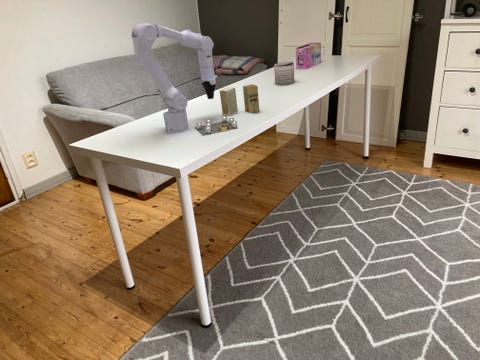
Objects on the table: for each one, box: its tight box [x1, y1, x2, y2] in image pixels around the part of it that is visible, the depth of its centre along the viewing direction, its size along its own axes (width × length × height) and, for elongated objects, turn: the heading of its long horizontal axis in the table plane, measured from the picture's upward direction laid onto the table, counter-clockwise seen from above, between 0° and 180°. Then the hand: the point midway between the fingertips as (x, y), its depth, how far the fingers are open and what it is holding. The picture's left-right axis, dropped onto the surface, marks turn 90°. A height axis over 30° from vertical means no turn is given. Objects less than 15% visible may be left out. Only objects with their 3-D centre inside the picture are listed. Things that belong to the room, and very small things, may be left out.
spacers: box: [195, 115, 239, 135], centre depth 160 cm, size 15×12×2 cm
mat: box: [193, 119, 239, 137], centre depth 161 cm, size 15×13×1 cm
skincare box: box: [219, 86, 239, 117], centre depth 175 cm, size 6×4×12 cm
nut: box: [218, 124, 230, 133], centre depth 157 cm, size 4×5×2 cm
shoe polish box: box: [242, 84, 260, 115], centre depth 177 cm, size 5×5×12 cm
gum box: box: [295, 42, 322, 70], centre depth 265 cm, size 24×8×14 cm, turn 144°
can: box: [273, 60, 296, 87], centre depth 223 cm, size 11×11×12 cm
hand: (210, 98), depth 169 cm, fingers closed
